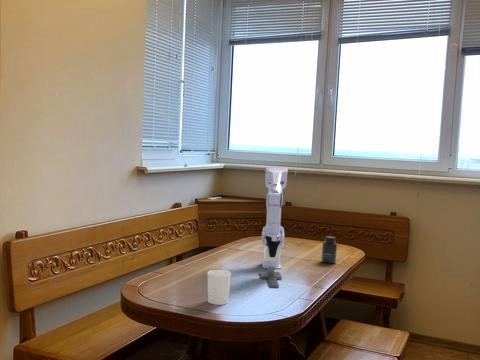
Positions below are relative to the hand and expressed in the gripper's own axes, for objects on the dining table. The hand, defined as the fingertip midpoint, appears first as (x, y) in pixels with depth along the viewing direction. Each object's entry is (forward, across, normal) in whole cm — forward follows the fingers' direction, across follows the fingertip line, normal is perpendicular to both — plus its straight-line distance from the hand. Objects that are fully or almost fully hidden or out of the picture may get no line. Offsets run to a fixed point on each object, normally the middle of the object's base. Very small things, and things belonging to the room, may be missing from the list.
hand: (271, 255), depth 200 cm
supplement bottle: (+9, -29, +30) cm, 43 cm away
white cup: (+9, +34, -21) cm, 41 cm away
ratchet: (+9, +6, 0) cm, 10 cm away
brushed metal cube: (+2, 0, 0) cm, 2 cm away
